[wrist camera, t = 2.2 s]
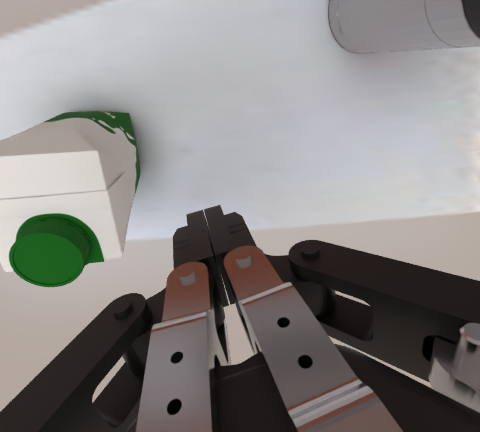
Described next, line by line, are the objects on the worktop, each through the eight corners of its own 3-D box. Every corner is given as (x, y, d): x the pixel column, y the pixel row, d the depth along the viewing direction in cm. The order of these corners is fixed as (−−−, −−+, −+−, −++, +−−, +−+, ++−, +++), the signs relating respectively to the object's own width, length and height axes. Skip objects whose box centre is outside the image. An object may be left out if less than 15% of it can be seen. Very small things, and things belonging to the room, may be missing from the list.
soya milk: (73, 185, 35) (-20, 302, 18) (50, 105, 31) (-101, 157, 14) (148, 179, 37) (130, 281, 20) (136, 102, 33) (99, 146, 15)
